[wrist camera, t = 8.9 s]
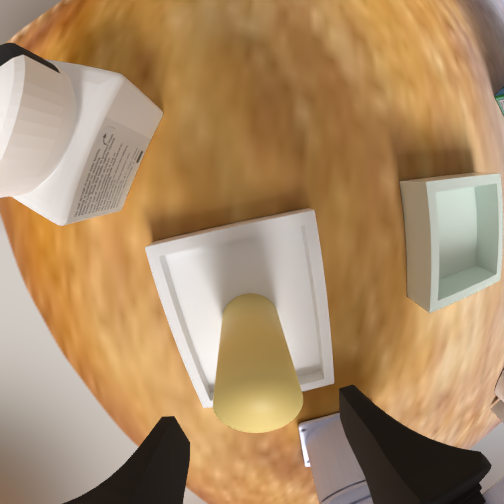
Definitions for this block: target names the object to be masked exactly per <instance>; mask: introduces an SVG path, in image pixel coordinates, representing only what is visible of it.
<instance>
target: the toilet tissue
mask: <svg viewBox="0 0 504 504" xmlns="http://www.w3.org/2000/svg"><path fill="white" fill-rule="evenodd" d="M495 395H496V396H497V397H498V398H499V399H500V401H499V402H497V404H496V405H494V406H493V407H492V408H491V410H492V411H493V412H494V413H495V414H496V415H497V417H498V418H499V419H500V420H501V421H502V422H503V423H504V370H503V372H502V374H501V376H500V378H499V380H498V382H497V385H496V388H495Z"/></svg>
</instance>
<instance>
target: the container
mask: <svg viewBox="0 0 504 504" xmlns="http://www.w3.org/2000/svg"><path fill="white" fill-rule="evenodd" d="M162 117H163V111H162V110H161V109H160V108H159V107H158V106H157V105H156V104H154V103H153V102H152V101H151V100H150V99H149V98H148V97H147V96H146V95H145V94H144V93H142V92H141V91H140V90H139V89H138V88H137V87H136V86H135V85H134V84H133V83H131V82H130V81H129V80H128V79H127V78H126V77H125V76H124V75H122V74H121V73H117V72H112V71H108V70H104V69H99V68H95V67H90V66H85V65H79V64H74V63H68V62H61V61H54V60H46V59H43V58H41V57H39V56H37V55H35V54H34V53H32V52H30V51H28V50H26V49H24V48H22V47H20V46H18V45H16V44H14V43H5V44H2V45H0V198H3V197H10V196H11V197H13V198H15V199H16V200H18V201H19V202H21V203H22V204H24V205H26V206H27V207H29V208H30V209H32V210H34V211H35V212H37V213H39V214H40V215H42V216H43V217H45V218H47V219H48V220H50V221H52V222H54V223H55V224H57V225H61V226H64V225H67V224H71V223H75V222H78V221H82V220H86V219H90V218H94V217H98V216H102V215H106V214H110V213H114V212H118V211H120V210H121V209H122V208H123V205H124V203H125V200H126V197H127V195H128V192H129V190H130V187H131V185H132V182H133V180H134V177H135V175H136V172H137V170H138V168H139V165H140V163H141V161H142V159H143V156H144V154H145V152H146V150H147V147H148V145H149V143H150V141H151V139H152V137H153V135H154V133H155V131H156V129H157V127H158V125H159V123H160V121H161V119H162Z"/></svg>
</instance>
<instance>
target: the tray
mask: <svg viewBox="0 0 504 504" xmlns="http://www.w3.org/2000/svg"><path fill="white" fill-rule="evenodd" d="M145 250H146V254H147V257H148V261H149V264H150V267H151V271H152V274H153V277H154V281H155V284H156V287H157V290H158V293H159V296H160V299H161V302H162V305H163V308H164V311H165V314H166V317H167V320H168V322H169V325H170V328H171V331H172V333H173V336H174V339H175V341H176V344H177V347H178V349H179V352H180V354H181V357H182V359H183V362H184V364H185V367H186V369H187V371H188V374H189V376H190V379H191V381H192V383H193V385H194V388H195V390H196V392H197V394H198V397H199V399H200V401H201V403H202V405H203V408H208V407H213V397H214V388H215V378H216V369H217V360H218V351H219V342H220V334H221V325H222V317H223V312H224V309H225V307H226V306H227V304H228V303H229V302H230V301H231V300H232V299H234V298H235V297H237V296H240V295H243V294H248V293H253V294H259V295H262V296H264V297H266V298H267V299H269V300H270V301H271V302H272V303H273V304H274V306H275V307H276V310H277V313H278V316H279V319H280V322H281V326H282V329H283V332H284V335H285V339H286V342H287V345H288V348H289V352H290V355H291V358H292V361H293V365H294V368H295V371H296V374H297V378H298V381H299V384H300V387H301V391H302V392H303V391H307V390H311V389H315V388H319V387H323V386H326V385H330V384H333V383H334V369H333V355H332V342H331V330H330V320H329V310H328V301H327V292H326V284H325V276H324V268H323V261H322V254H321V247H320V241H319V234H318V228H317V222H316V216H315V210H312V209H309V208H305V209H300V210H295V211H290V212H285V213H280V214H275V215H270V216H265V217H260V218H256V219H251V220H246V221H241V222H237V223H232V224H228V225H223V226H219V227H214V228H210V229H205V230H201V231H196V232H192V233H188V234H183V235H179V236H175V237H171V238H167V239H162V240H158V241H154V242H152V243H150V244H149V245H147V246H146V247H145Z"/></svg>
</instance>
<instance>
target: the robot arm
mask: <svg viewBox="0 0 504 504" xmlns="http://www.w3.org/2000/svg"><path fill="white" fill-rule="evenodd" d="M339 400H340V412H339V413H336V414H332V415H329V416H325V417H321V418H318V419H314V420H310V421H305V422H302V423H300V424H299V425H298V429H299V434H300V440H301V446H302V451H303V457H304V463H305V466H306V467H311V471H312V475H313V479H314V483H315V487H316V491H317V496H318V500H319V504H504V477H502V478H501V479H500V480H499V481H498V482H497V483H495V484H494V485H493V486H492V487H490V488H489V489H488V490H487V491H486V492H484V493H483V494H481V492H480V490H481V489H482V487H481V485H480V484H479V482H480V481H481V480H482V479H483V478H484V477H485V475H486V474H487V473H488V472H489V470H490V469H491V464H490V462H489V461H488V460H487V458H486V457H485V456H484V455H483V454H482V453H481V452H479V451H472V450H466V449H461V448H457V447H453V446H449V445H446V444H443V443H440V442H438V441H435V440H432V439H429V438H427V437H425V436H423V435H421V434H419V433H417V432H415V431H413V430H411V429H409V428H407V427H406V426H404V425H403V424H401V423H399V422H398V421H396V420H395V419H393V418H392V417H391V416H389V415H388V414H386V413H385V412H384V411H383V410H381V409H380V408H379V407H378V406H376V405H375V404H374V403H373V402H372V401H370V400H369V399H368V398H367V397H366V396H365V395H364V394H363V393H362V392H361V391H360V390H359V389H358V388H357V387H356V386H354V385H350V386H346V387H343V388H340V389H339ZM189 461H190V442H189V440H188V439H187V437H186V435H185V434H184V432H183V430H182V429H181V427H180V425H179V424H178V422H177V420H176V418H175V417H174V416H170V417H162V418H161V419H160V420H159V422H158V423H157V424H156V425H155V427H154V428H153V429H152V431H151V432H150V433H149V435H148V436H147V437H146V439H145V440H144V441H143V443H142V444H141V445H140V446H139V448H138V449H137V450H136V451H135V453H134V454H133V455H132V456H131V457H130V458H129V459H128V460H127V461H126V463H125V464H124V465H123V466H122V467H121V468H119V470H117V471H116V472H115V473H114V474H113V475H112V476H111V477H109V478H108V479H107V480H105V481H104V482H102V483H101V484H100V485H99V486H97V487H96V488H94V489H92V490H91V491H89V492H87V493H85V494H84V495H82V496H80V497H78V498H75V499H73V500H71V501H68V502H66V503H63V504H183V498H184V491H185V486H186V480H187V474H188V468H189Z"/></svg>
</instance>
